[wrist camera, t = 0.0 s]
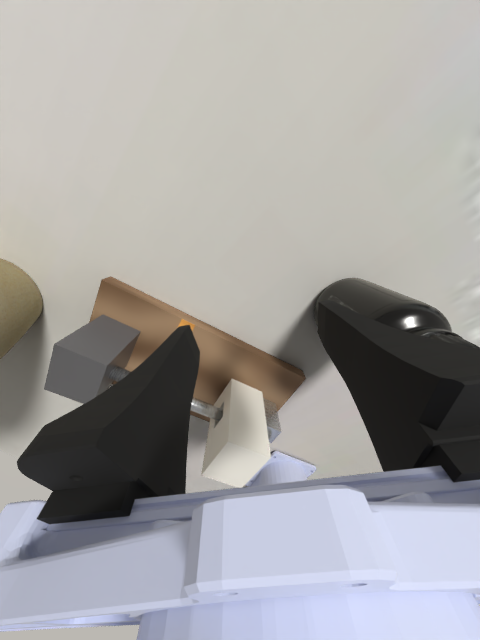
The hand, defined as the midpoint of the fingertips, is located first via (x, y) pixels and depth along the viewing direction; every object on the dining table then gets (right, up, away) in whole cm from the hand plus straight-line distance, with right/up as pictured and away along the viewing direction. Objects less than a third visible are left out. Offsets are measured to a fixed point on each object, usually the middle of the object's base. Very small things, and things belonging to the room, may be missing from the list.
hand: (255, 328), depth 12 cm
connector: (-14, -2, +11) cm, 18 cm away
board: (-6, -5, +14) cm, 16 cm away
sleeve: (-1, -9, +13) cm, 16 cm away
